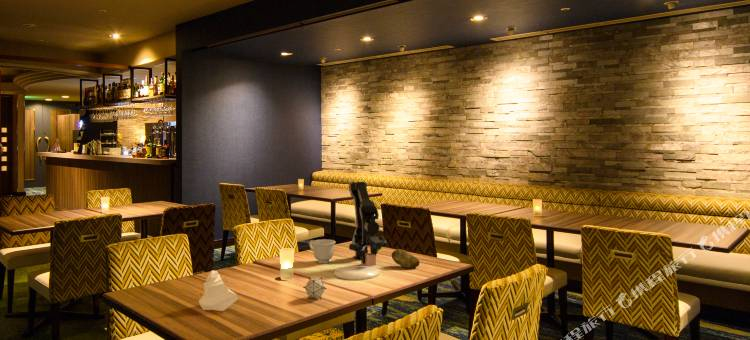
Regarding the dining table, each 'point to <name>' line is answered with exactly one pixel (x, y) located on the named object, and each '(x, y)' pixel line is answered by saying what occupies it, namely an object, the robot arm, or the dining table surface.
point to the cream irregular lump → (216, 294)
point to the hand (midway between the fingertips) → (368, 262)
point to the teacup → (322, 249)
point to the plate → (356, 272)
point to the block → (369, 259)
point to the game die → (314, 288)
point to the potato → (405, 259)
